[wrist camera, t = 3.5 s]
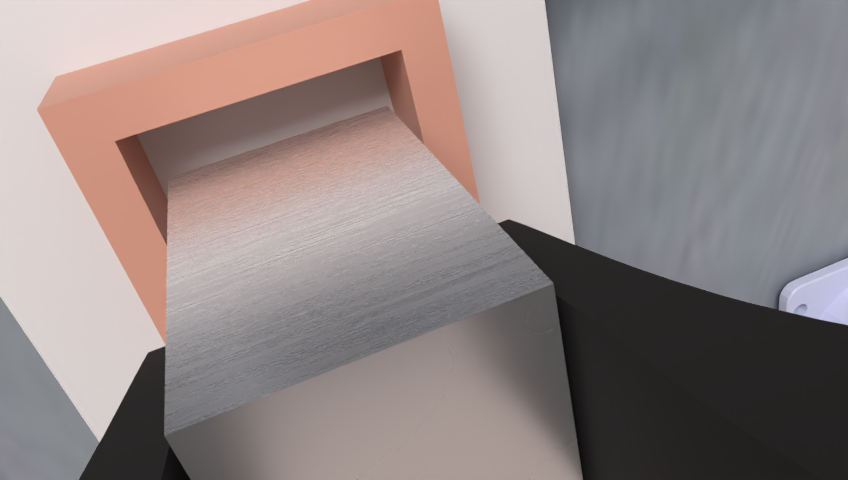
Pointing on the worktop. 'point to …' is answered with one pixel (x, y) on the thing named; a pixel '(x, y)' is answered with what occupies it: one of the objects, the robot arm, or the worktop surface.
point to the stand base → (232, 138)
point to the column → (356, 320)
